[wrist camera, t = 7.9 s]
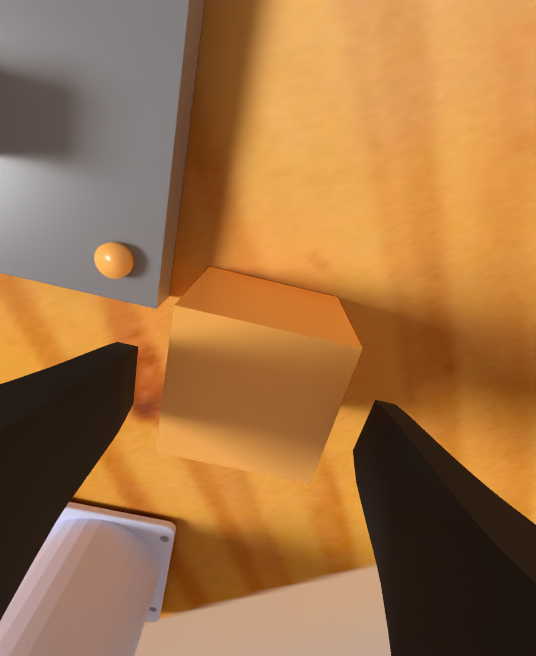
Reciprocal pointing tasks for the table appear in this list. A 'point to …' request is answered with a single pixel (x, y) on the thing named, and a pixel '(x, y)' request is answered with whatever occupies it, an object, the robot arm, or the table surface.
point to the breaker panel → (95, 141)
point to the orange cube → (255, 375)
